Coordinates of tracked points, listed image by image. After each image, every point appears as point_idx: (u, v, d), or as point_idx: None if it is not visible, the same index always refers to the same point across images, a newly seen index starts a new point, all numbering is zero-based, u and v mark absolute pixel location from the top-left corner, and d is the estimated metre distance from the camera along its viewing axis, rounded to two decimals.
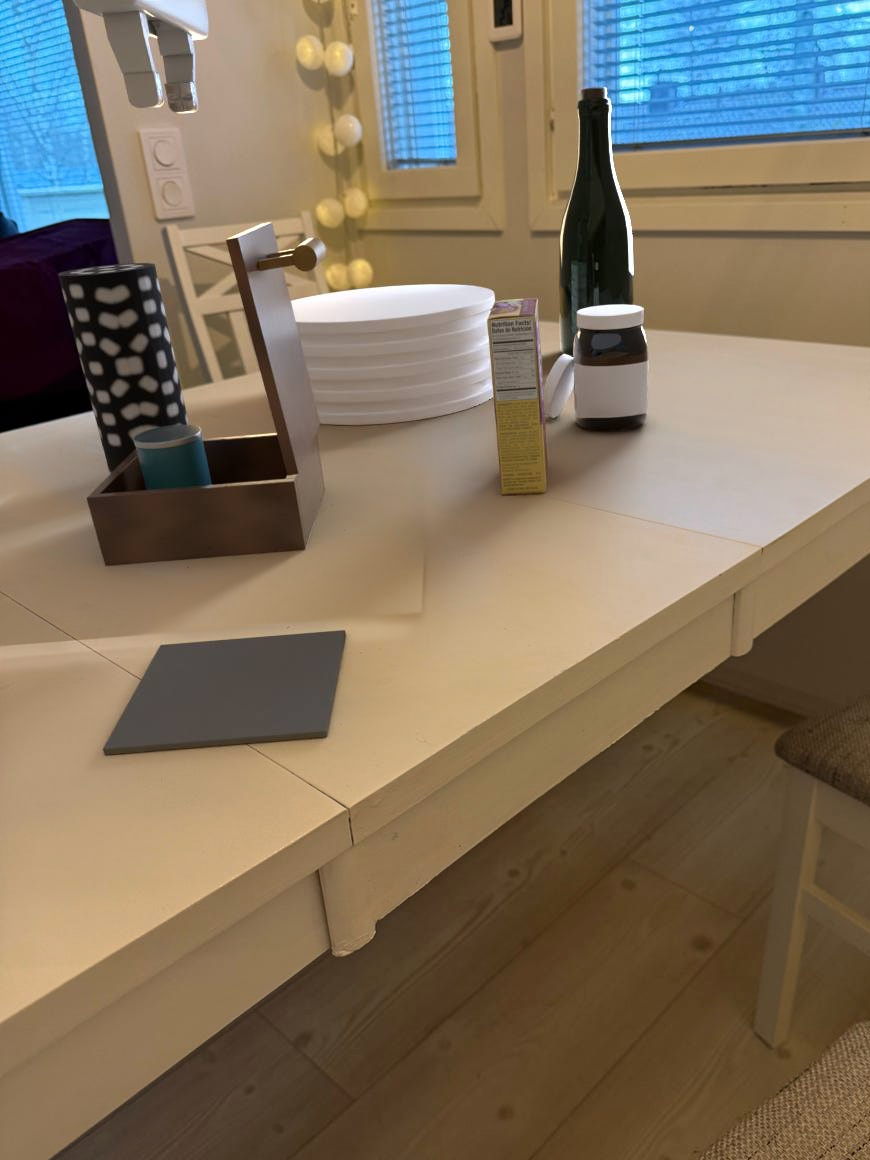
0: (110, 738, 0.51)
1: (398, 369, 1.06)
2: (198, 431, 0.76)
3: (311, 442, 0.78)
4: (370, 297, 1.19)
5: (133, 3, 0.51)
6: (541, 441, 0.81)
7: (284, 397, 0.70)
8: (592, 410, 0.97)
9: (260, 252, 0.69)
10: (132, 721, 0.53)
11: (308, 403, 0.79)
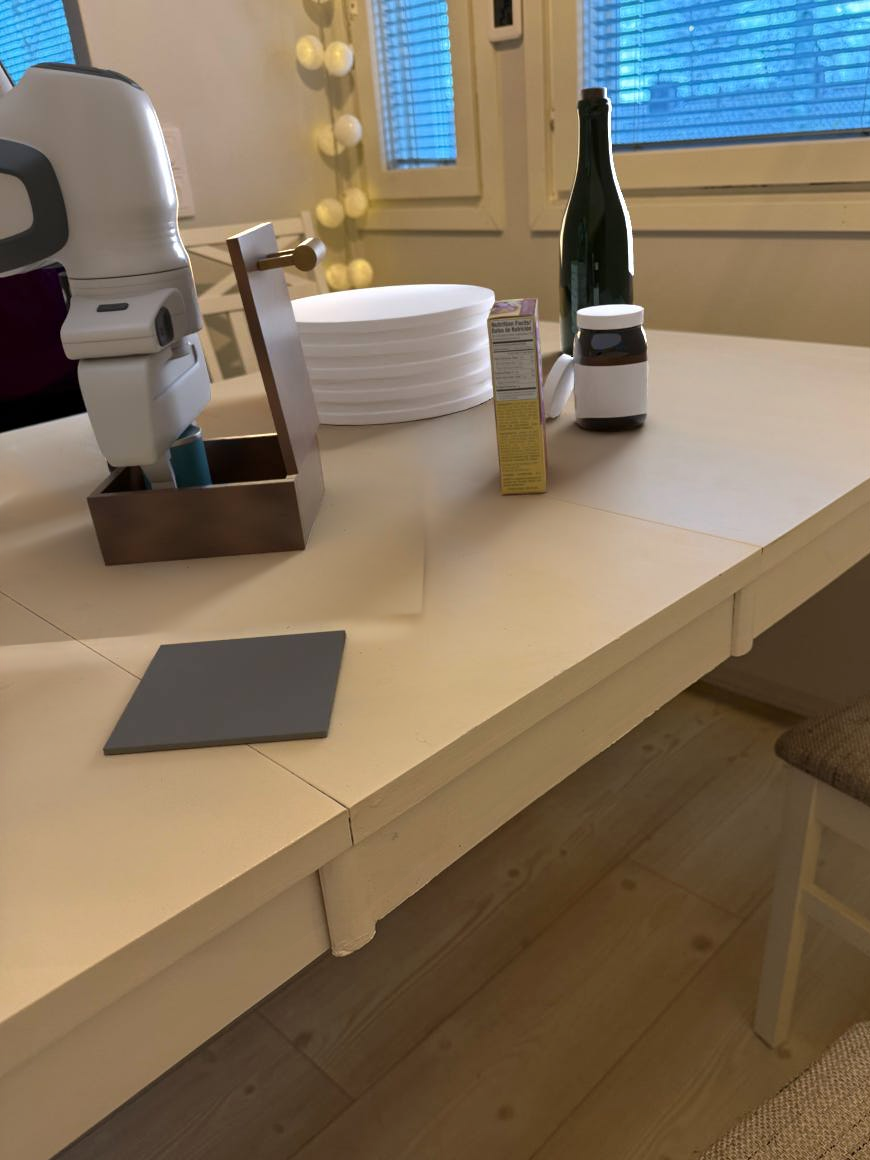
0: (110, 738, 0.51)
1: (398, 369, 1.06)
2: (198, 431, 0.76)
3: (311, 442, 0.78)
4: (370, 297, 1.19)
5: (154, 462, 0.68)
6: (541, 441, 0.81)
7: (284, 397, 0.70)
8: (592, 410, 0.97)
9: (260, 252, 0.69)
10: (132, 721, 0.53)
11: (308, 403, 0.79)
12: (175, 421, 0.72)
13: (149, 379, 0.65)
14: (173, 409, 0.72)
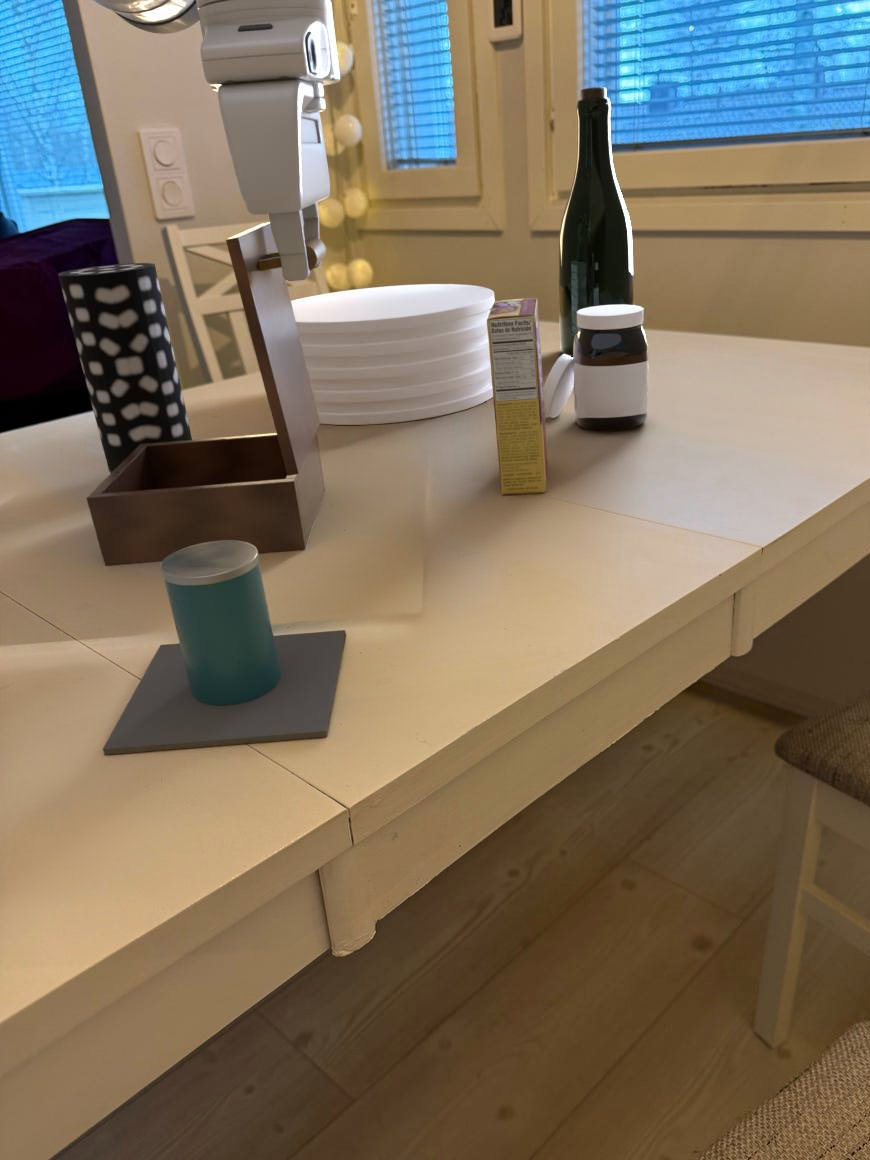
0: (110, 738, 0.51)
1: (398, 369, 1.06)
2: (254, 554, 0.52)
3: (311, 442, 0.78)
4: (370, 297, 1.19)
5: (298, 210, 0.60)
6: (541, 441, 0.81)
7: (284, 397, 0.70)
8: (592, 410, 0.97)
9: (260, 252, 0.69)
10: (132, 721, 0.53)
11: (308, 403, 0.79)
12: (311, 182, 0.65)
13: (298, 105, 0.58)
14: (308, 167, 0.65)
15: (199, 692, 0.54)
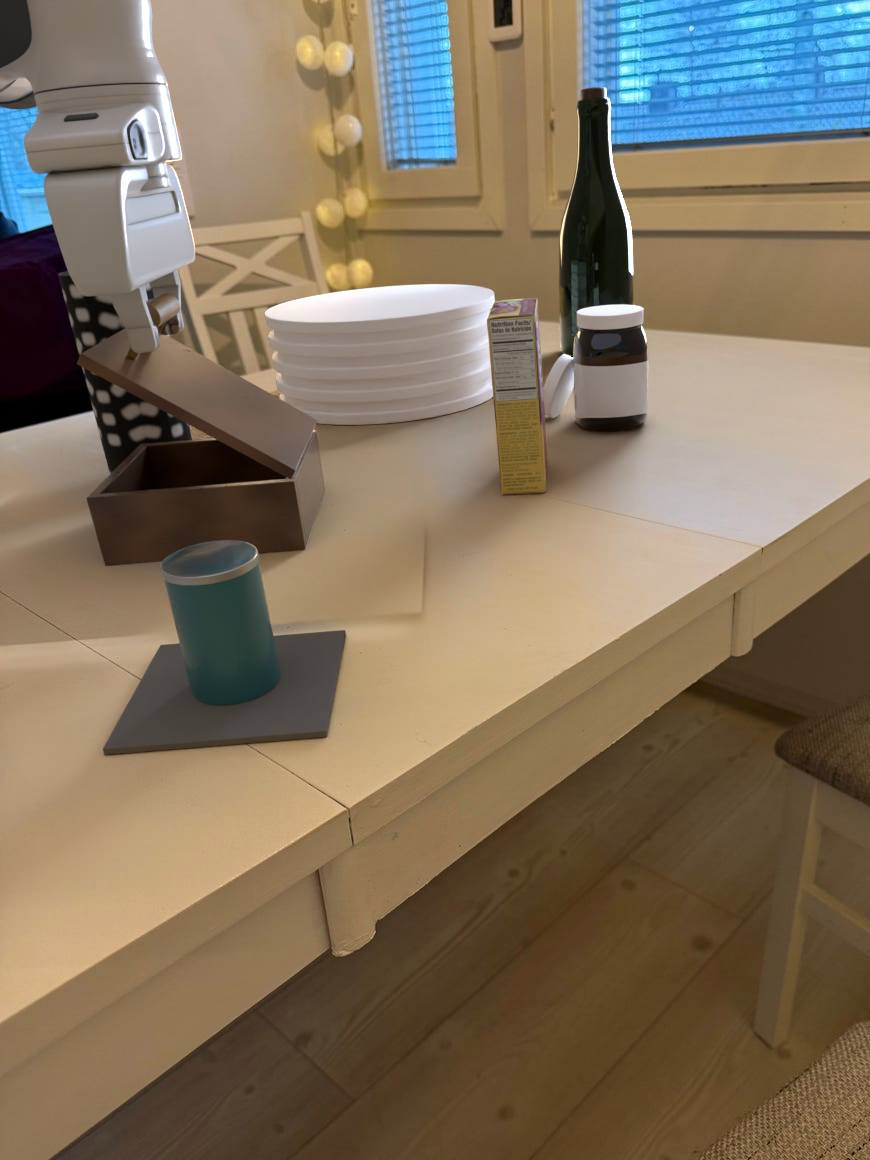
0: (110, 738, 0.51)
1: (398, 369, 1.06)
2: (254, 554, 0.52)
3: (307, 439, 0.77)
4: (370, 297, 1.19)
5: (129, 291, 0.62)
6: (541, 441, 0.81)
7: (234, 427, 0.70)
8: (592, 410, 0.97)
9: (129, 347, 0.72)
10: (132, 721, 0.53)
11: (285, 414, 0.79)
12: (153, 258, 0.67)
13: (121, 193, 0.60)
14: (150, 244, 0.67)
15: (199, 692, 0.54)
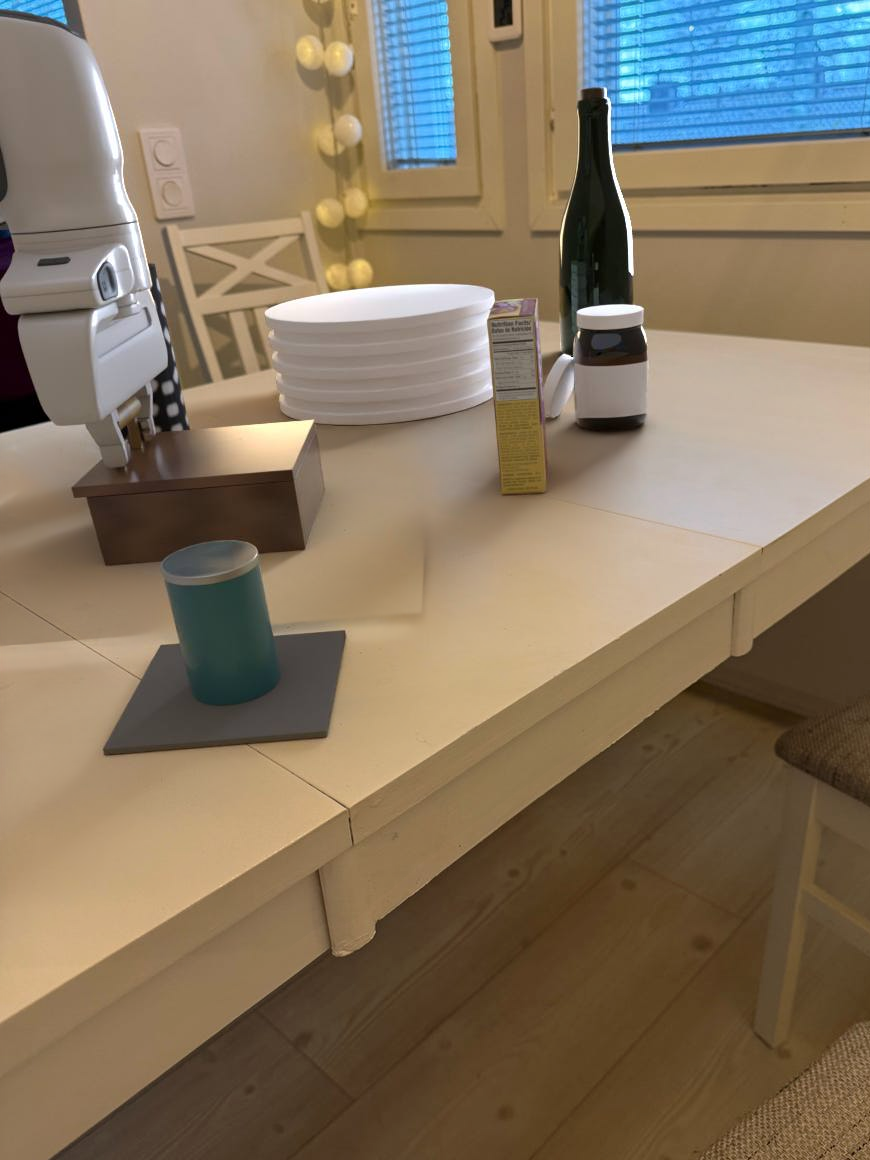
0: (110, 738, 0.51)
1: (398, 369, 1.06)
2: (254, 554, 0.52)
3: (304, 439, 0.77)
4: (370, 297, 1.19)
5: (99, 421, 0.66)
6: (541, 441, 0.81)
7: (226, 467, 0.72)
8: (592, 410, 0.97)
9: None
10: (132, 721, 0.53)
11: (279, 432, 0.80)
12: (124, 381, 0.71)
13: (91, 334, 0.64)
14: (121, 369, 0.70)
15: (199, 692, 0.54)
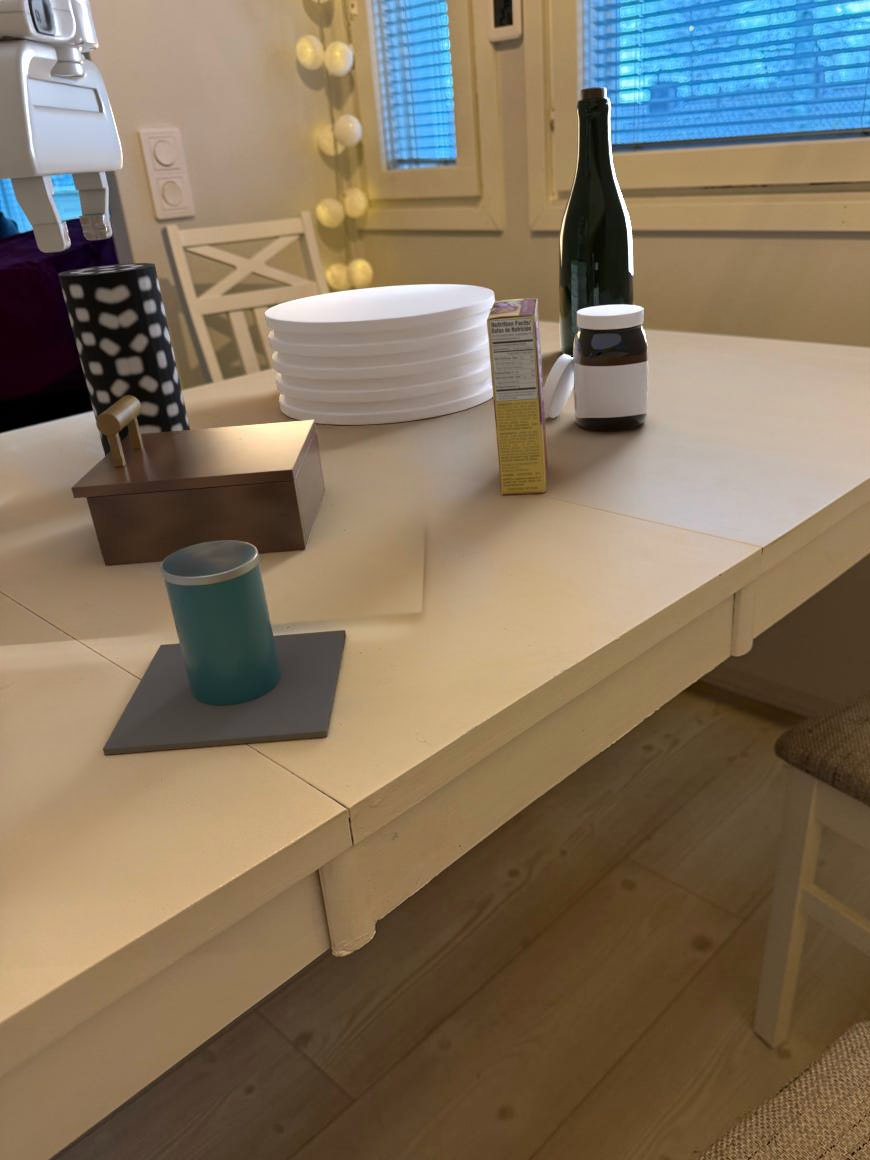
0: (110, 738, 0.51)
1: (398, 369, 1.06)
2: (254, 554, 0.52)
3: (304, 439, 0.77)
4: (370, 297, 1.19)
5: (33, 175, 0.59)
6: (541, 441, 0.81)
7: (226, 467, 0.72)
8: (592, 410, 0.97)
9: None
10: (132, 721, 0.53)
11: (279, 432, 0.80)
12: (66, 149, 0.64)
13: (22, 66, 0.57)
14: (62, 134, 0.63)
15: (199, 692, 0.54)
